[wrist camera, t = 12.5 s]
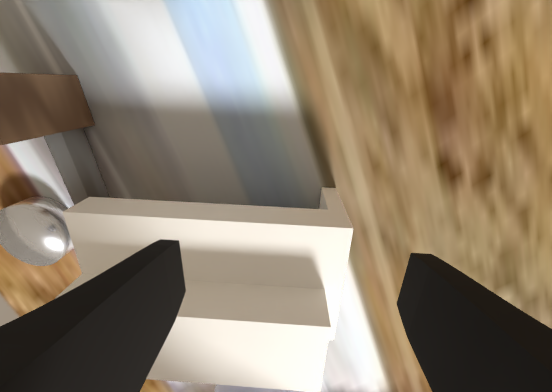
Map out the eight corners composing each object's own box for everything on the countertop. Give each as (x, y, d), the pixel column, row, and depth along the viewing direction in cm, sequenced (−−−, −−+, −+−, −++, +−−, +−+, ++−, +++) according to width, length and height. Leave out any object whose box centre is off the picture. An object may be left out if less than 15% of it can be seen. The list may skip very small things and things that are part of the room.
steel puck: (92, 248, 22) (74, 263, 20) (37, 252, 22) (14, 267, 20) (66, 192, 20) (43, 203, 18) (7, 198, 20) (-22, 209, 18)
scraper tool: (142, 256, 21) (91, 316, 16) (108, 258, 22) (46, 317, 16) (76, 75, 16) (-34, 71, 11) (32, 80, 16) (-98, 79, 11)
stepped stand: (322, 289, 22) (338, 393, 14) (144, 277, 22) (72, 373, 15) (336, 188, 18) (366, 259, 11) (124, 177, 19) (15, 238, 11)
